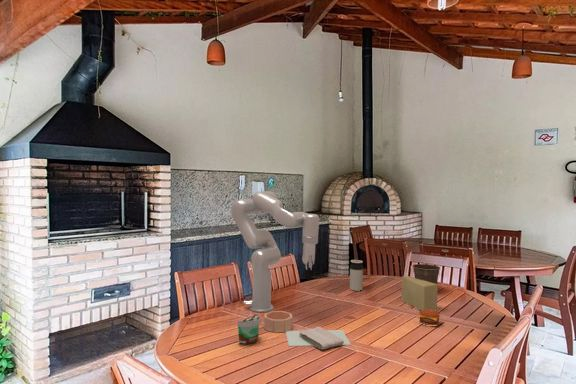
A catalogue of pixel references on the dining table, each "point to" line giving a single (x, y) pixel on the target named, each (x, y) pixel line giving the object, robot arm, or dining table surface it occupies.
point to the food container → (249, 330)
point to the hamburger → (429, 317)
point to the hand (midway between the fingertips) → (307, 277)
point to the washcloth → (320, 338)
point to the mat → (296, 340)
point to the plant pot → (426, 272)
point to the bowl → (278, 321)
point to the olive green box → (419, 293)
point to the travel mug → (356, 275)
